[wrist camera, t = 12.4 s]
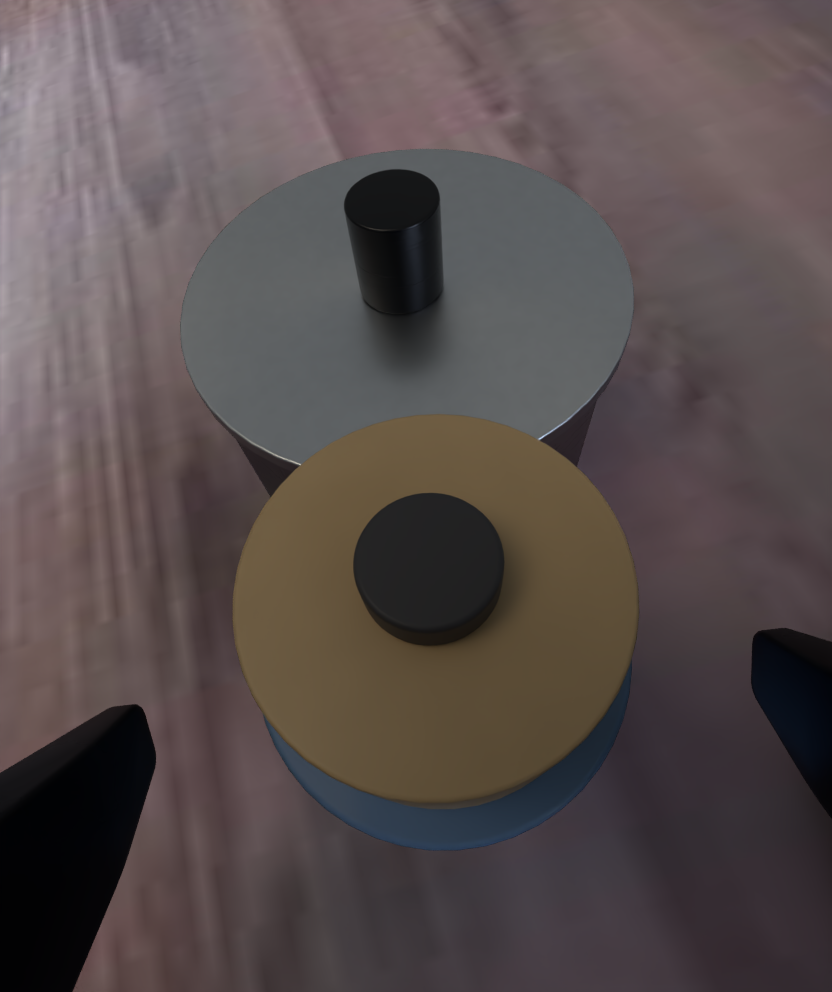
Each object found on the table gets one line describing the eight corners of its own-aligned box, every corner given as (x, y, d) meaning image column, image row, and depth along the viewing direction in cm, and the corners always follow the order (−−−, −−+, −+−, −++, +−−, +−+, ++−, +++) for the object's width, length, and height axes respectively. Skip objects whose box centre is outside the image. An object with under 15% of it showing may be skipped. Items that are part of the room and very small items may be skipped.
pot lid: (671, 485, 14) (732, 384, 11) (163, 518, 14) (76, 431, 11) (584, 165, 19) (607, 37, 16) (222, 198, 20) (176, 81, 17)
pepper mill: (517, 866, 15) (658, 978, 4) (344, 798, 16) (62, 734, 5) (558, 681, 17) (729, 409, 6) (401, 632, 18) (297, 320, 7)
